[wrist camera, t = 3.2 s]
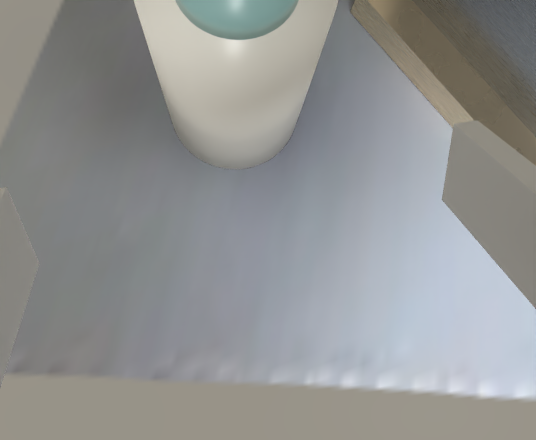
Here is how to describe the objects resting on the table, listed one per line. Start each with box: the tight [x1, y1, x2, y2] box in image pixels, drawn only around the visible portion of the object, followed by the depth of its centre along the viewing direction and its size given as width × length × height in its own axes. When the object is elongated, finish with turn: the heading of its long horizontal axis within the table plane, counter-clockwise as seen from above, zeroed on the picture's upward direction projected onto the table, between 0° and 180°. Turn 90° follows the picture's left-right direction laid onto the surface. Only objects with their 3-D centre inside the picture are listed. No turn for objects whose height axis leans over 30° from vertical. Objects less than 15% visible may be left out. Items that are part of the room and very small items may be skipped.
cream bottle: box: [134, 0, 338, 169], centre depth 22 cm, size 7×7×12 cm
